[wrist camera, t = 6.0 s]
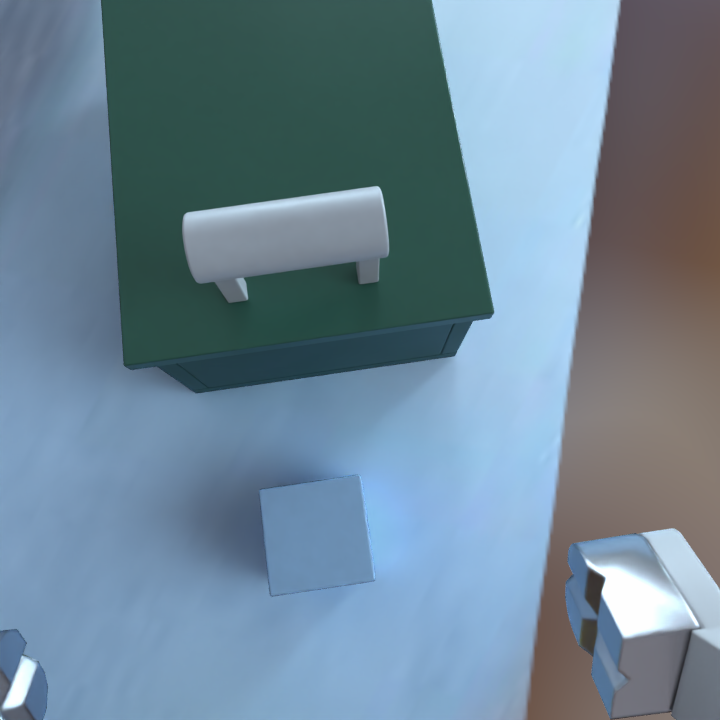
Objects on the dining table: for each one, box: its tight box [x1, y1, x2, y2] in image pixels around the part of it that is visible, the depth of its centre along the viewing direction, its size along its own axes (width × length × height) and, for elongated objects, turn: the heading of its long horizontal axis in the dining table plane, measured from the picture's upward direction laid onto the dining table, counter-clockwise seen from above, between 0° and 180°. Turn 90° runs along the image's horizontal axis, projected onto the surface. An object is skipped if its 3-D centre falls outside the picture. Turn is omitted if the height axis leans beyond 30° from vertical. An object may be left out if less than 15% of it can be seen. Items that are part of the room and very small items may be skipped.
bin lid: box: [101, 0, 494, 370], centre depth 22 cm, size 19×13×6 cm, turn 8°
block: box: [259, 475, 375, 597], centre depth 27 cm, size 4×4×5 cm
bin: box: [157, 321, 473, 393], centre depth 29 cm, size 19×13×9 cm
